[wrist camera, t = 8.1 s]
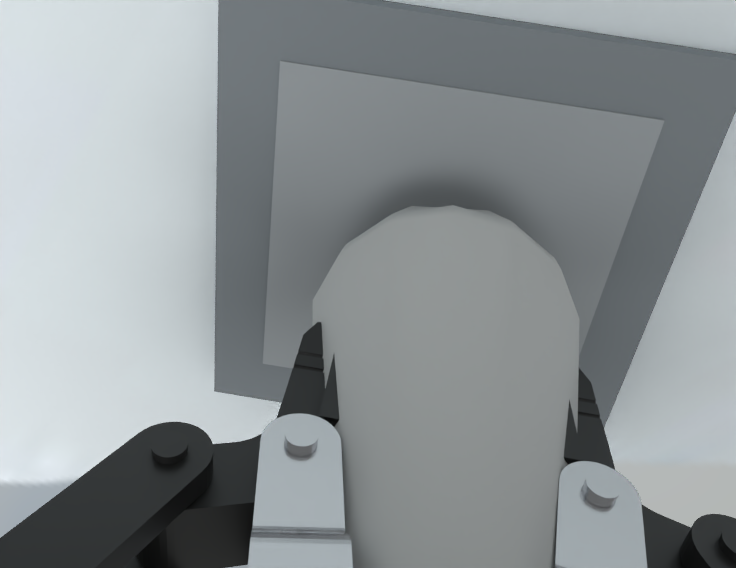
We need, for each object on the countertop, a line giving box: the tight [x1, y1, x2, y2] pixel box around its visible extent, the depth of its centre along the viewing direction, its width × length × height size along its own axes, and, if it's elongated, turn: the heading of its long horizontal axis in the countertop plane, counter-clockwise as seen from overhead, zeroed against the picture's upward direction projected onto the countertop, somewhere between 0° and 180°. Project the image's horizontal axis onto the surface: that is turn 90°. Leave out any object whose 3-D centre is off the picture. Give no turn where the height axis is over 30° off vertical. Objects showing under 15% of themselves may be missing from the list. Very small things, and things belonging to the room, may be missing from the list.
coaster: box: [214, 0, 736, 427], centre depth 19 cm, size 12×12×1 cm
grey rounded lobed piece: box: [313, 205, 580, 568], centre depth 12 cm, size 6×6×13 cm
